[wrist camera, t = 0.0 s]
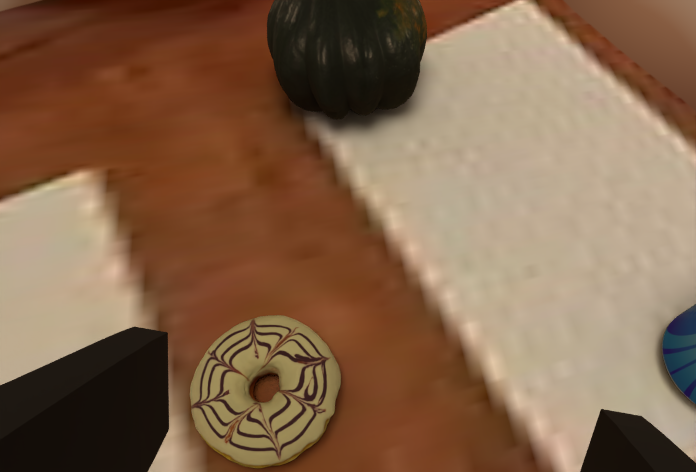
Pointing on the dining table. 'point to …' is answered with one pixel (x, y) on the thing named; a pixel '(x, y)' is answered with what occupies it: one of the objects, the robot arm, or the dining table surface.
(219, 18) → the dining table surface
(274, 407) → the decorated donut
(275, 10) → the squash
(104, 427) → the robot arm
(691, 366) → the beer can
